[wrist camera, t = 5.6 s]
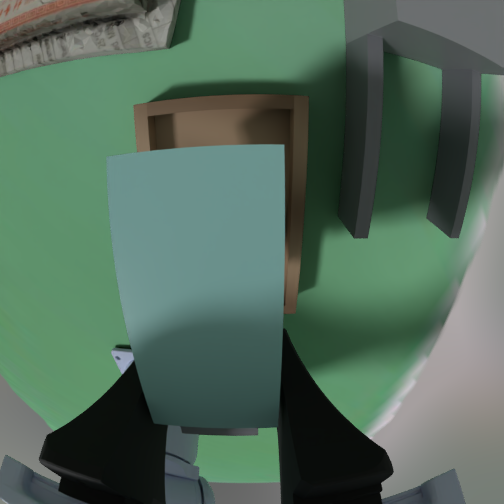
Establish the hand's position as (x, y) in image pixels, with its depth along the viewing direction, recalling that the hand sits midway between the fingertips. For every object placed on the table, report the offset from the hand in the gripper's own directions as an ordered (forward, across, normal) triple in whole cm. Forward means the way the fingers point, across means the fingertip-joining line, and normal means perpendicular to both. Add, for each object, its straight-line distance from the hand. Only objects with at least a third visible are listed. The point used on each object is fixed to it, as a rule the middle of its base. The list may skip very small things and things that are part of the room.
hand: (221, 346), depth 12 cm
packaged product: (+8, +11, -19) cm, 23 cm away
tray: (+7, 0, -3) cm, 8 cm away
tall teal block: (+3, 0, -3) cm, 4 cm away
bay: (+7, -11, -11) cm, 17 cm away
